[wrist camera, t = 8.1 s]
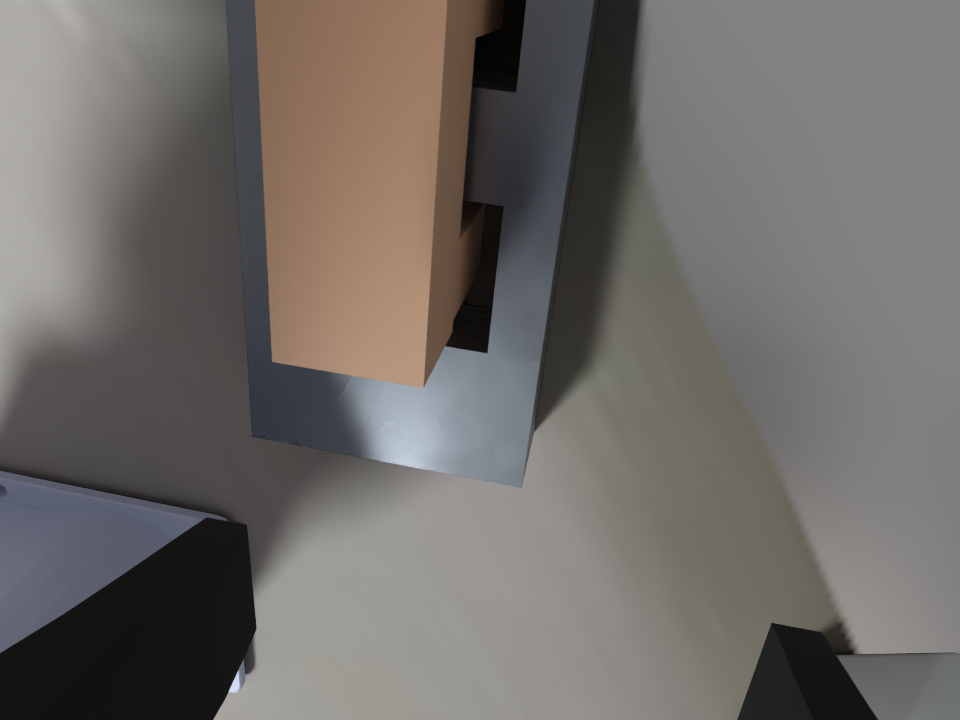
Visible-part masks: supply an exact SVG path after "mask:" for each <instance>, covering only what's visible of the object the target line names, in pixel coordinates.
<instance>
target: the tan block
mask: <svg viewBox="0 0 960 720" xmlns="http://www.w3.org/2000/svg"><path fill="white" fill-rule="evenodd" d="M503 10H504V0H255V15H256V36H257V57H258V78H259V99H260V120H261V141H262V162H263V183H264V204H265V225H266V245H267V266H268V287H269V308H270V329H271V350H272V362H276V363H282V364H287V365H293V366H299V367H305V368H311V369H316V370H322V371H328V372H334V373H340V374H345V375H351V376H357V377H363V378H369V379H374V380H380V381H386V382H392V383H398V384H403V385H409V386H415V387H421V388H424V386H425V384H426V382H427V380H428V378H429V376H430V375H431V373H432V371H433V369H434V367H435V365H436V363H437V361H438V359H439V357H440V355H441V353H442V351H443V349H444V348H445V346H446V344H447V342H448V340H449V338H450V336H451V334H452V329H453V320H454V318H455V316H456V314H457V312H458V310H459V308H460V306H461V305H462V303H463V301H464V299H465V297H466V295H467V293H468V292H469V290H470V288H471V286H472V284H473V282H474V280H475V278H476V277H477V275H478V273H479V266H480V255H481V244H482V234H483V223H484V212H485V203H480V202H473V201H466V200H463V190H464V178H465V165H466V153H467V140H468V127H469V115H470V102H471V89H472V77H473V64H474V51H475V39H476V38H477V37H480V36H483V35H485V34H488V33H491V32H493V31H496V30H499V29H502V21H503Z"/></svg>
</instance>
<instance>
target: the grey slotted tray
mask: <svg viewBox="0 0 960 720" xmlns="http://www.w3.org/2000/svg"><path fill="white" fill-rule="evenodd" d="M598 7H599V0H526V8H525V18H524V27H523V36H522V45H521V54H520V63H519V72H518V76H515V75H507V74H499V73H491V72H482V71H474V70H473V77H472V89H471V102H470V115H469V127H468V140H467V153H466V165H465V178H464V190H463V200H466V201H473V202H480V203H487V204H494V205H501V206H504V208H503V217H502V226H501V235H500V244H499V253H498V262H497V271H496V281H495V290H494V299H493V308H487V307H481V306H475V305H469V304H462V305H461V306H460V308H459V310H458V312H457V314H456V316H455V318H454V320H453V329H452V334H451V336H450V338H449V340H448V342H447V344H446V346H445V348H444V349H443V351H442V353H441V355H440V357H439V359H438V361H437V363H436V365H435V367H434V369H433V371H432V373H431V375H430V376H429V378H428V380H427V382H426V384H425V386H424V388H421V387H415V386H409V385H403V384H398V383H392V382H386V381H380V380H374V379H369V378H363V377H357V376H351V375H345V374H340V373H334V372H328V371H322V370H316V369H311V368H305V367H299V366H293V365H287V364H282V363H276V362H272V350H271V329H270V308H269V287H268V266H267V245H266V225H265V204H264V183H263V162H262V141H261V120H260V99H259V78H258V57H257V36H256V15H255V0H226V13H227V29H228V46H229V62H230V79H231V95H232V112H233V128H234V145H235V161H236V178H237V194H238V211H239V227H240V244H241V261H242V277H243V294H244V310H245V327H246V343H247V360H248V376H249V393H250V409H251V426H252V437H256V438H262V439H267V440H272V441H277V442H283V443H288V444H293V445H299V446H304V447H309V448H314V449H320V450H325V451H330V452H335V453H341V454H346V455H351V456H356V457H362V458H367V459H372V460H378V461H383V462H388V463H393V464H399V465H404V466H409V467H414V468H420V469H425V470H430V471H436V472H441V473H446V474H451V475H457V476H462V477H467V478H472V479H478V480H483V481H488V482H494V483H499V484H504V485H509V486H515V487H520V488H522V484H523V479H524V475H525V470H526V466H527V461H528V457H529V452H530V448H531V444H532V439H533V435H534V429H535V422H536V415H537V409H538V402H539V396H540V389H541V382H542V376H543V369H544V363H545V356H546V349H547V343H548V336H549V330H550V323H551V317H552V310H553V303H554V297H555V290H556V284H557V277H558V270H559V264H560V257H561V251H562V244H563V237H564V231H565V224H566V218H567V211H568V205H569V198H570V191H571V185H572V178H573V172H574V165H575V158H576V152H577V145H578V139H579V132H580V125H581V119H582V112H583V106H584V99H585V92H586V86H587V79H588V73H589V66H590V60H591V53H592V46H593V40H594V33H595V27H596V20H597V13H598Z"/></svg>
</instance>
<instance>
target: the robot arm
mask: <svg viewBox="0 0 960 720" xmlns="http://www.w3.org/2000/svg"><path fill="white" fill-rule="evenodd" d="M255 631H256V618H255V607H254V597H253V586H252V575H251V564H250V554H249V543H248V532H247V525H246V524H240V523H235V522H230V521H228V520H227V519H225V518H224V517H221V516H218V515H214V514H209V513H204V512H199V511H194V510H189V509H184V508H179V507H175V506H170V505H165V504H160V503H155V502H150V501H145V500H140V499H135V498H130V497H126V496H121V495H116V494H111V493H106V492H101V491H96V490H91V489H86V488H82V487H77V486H72V485H67V484H62V483H57V482H52V481H47V480H42V479H37V478H33V477H28V476H23V475H18V474H13V473H8V472H3V471H0V720H213V719H214V717H215V715H216V714H217V712H218V710H219V709H220V707H221V705H222V703H223V702H224V700H225V698H226V696H227V694H228V692H231V693H234V692H238V691H239V690H241V688H242V686H243V685H244V683H245V667H244V657H245V654H246V652H247V650H248V647H249V645H250V643H251V640H252V638H253V636H254V633H255ZM738 720H878V718H877V717H876V715H875V714H874V712H873V711H872V709H871V708H870V706H869V705H868V703H867V702H866V700H865V699H864V697H863V696H862V694H861V693H860V691H859V689H858V688H857V686H856V685H855V683H854V682H853V680H852V679H851V677H850V675H849V674H848V672H847V671H846V669H845V668H844V666H843V665H842V663H841V661H840V660H839V658H838V657H837V655H836V654H835V652H834V651H833V649H832V648H831V646H830V645H829V643H828V641H827V640H826V639H825V637H824V636H823V634H822V633H821V632H817V631H812V630H806V629H801V628H796V627H790V626H785V625H780V624H774V623H771V626H770V629H769V632H768V635H767V638H766V640H765V643H764V646H763V649H762V652H761V655H760V657H759V660H758V663H757V666H756V669H755V672H754V674H753V677H752V680H751V683H750V686H749V689H748V691H747V694H746V697H745V700H744V703H743V705H742V708H741V711H740V714H739V717H738Z"/></svg>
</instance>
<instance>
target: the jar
mask: <svg viewBox="0 0 960 720" xmlns="http://www.w3.org/2000/svg"><path fill="white" fill-rule="evenodd" d="M837 657H838V658H839V660H840V661H841V663H842V665H843V666H844V668H845V669H846V671H847V672H848V674H849V675H850V677H851V679H852V680H853V682H854V683H855V685H856V686H857V688H858V689H859V691H860V693H861V694H862V696H863V697H864V699H865V700H866V702H867V703H868V705H869V706H870V708H871V709H872V711H873V712H874V714H875V715H876V717H877V718H878V720H960V654H958V653H906V654H856V655H837Z"/></svg>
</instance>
